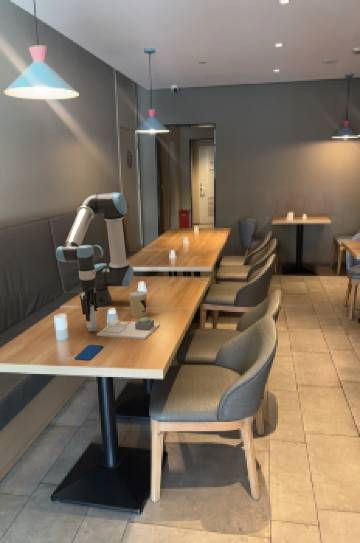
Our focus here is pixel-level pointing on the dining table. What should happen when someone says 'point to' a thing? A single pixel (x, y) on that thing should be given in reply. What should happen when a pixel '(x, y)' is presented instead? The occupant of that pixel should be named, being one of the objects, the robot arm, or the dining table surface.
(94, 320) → the marker
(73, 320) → the dining table surface
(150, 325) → the board
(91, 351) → the smartphone
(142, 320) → the button
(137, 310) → the coffee cup
